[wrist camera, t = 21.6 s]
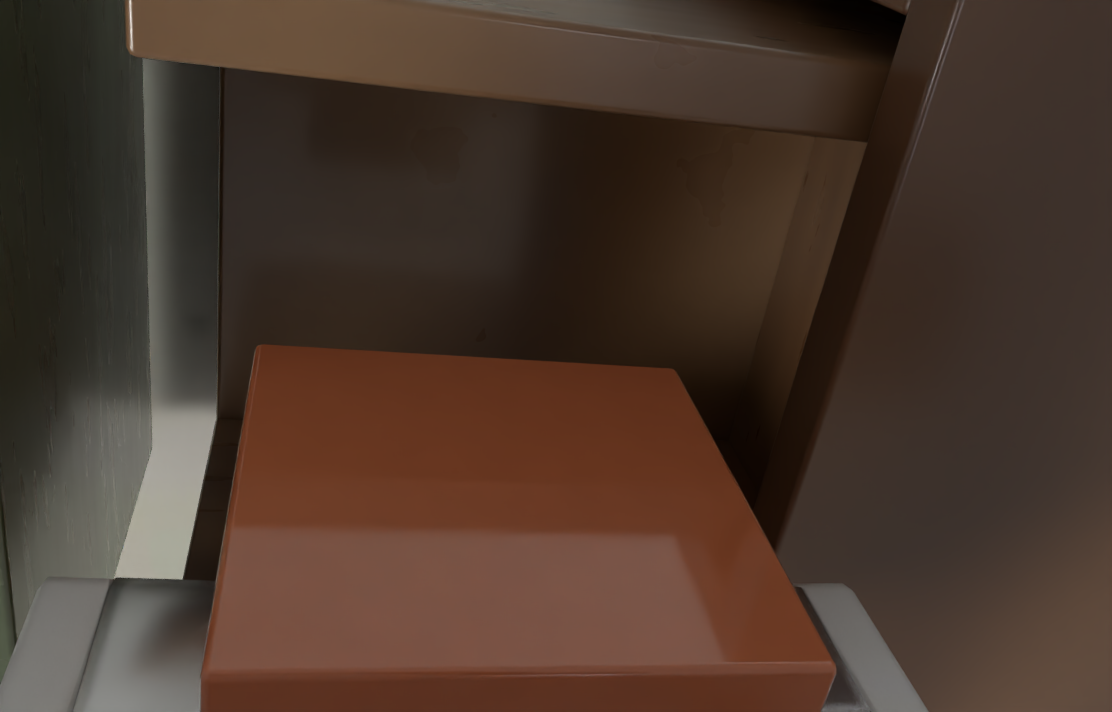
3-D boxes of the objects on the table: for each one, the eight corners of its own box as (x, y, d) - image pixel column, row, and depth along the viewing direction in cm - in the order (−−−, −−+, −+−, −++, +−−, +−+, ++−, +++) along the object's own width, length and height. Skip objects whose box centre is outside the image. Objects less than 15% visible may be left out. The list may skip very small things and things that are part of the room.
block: (246, 666, 11) (198, 1067, 8) (256, 340, 9) (197, 675, 6) (603, 662, 12) (703, 1020, 9) (676, 365, 10) (842, 668, 7)
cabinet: (539, 461, 23) (659, 899, 14) (652, -148, 17) (979, -64, 8) (1087, 481, 27) (1469, 846, 18) (1334, -25, 21) (2098, 128, 12)
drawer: (-178, 437, 19) (-523, 869, 12) (-321, -270, 14) (-1131, -326, 6) (729, 469, 23) (911, 802, 16) (885, -66, 18) (1273, 49, 10)
